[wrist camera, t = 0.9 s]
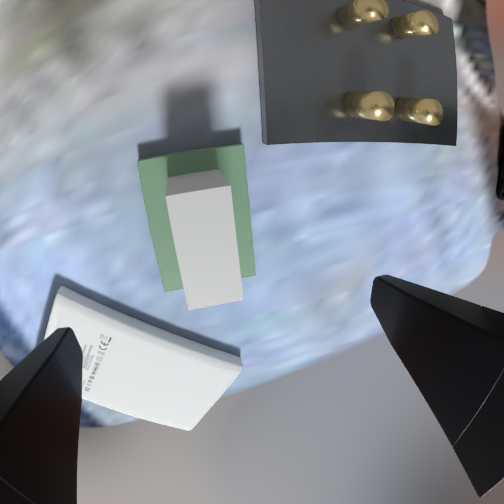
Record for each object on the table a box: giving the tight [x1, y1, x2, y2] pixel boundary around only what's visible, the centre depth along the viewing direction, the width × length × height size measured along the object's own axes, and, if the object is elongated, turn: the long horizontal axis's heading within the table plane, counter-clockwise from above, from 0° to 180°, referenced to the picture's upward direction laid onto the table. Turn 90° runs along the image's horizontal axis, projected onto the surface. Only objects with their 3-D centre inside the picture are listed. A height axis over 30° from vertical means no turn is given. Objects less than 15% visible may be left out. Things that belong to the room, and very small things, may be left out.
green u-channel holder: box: [137, 143, 256, 310], centre depth 14 cm, size 5×7×4 cm
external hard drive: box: [44, 285, 243, 430], centre depth 19 cm, size 2×8×12 cm
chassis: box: [254, 0, 457, 146], centre depth 13 cm, size 13×9×3 cm
